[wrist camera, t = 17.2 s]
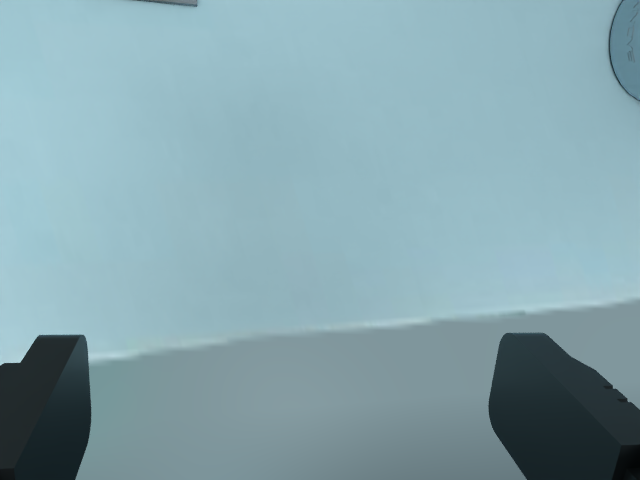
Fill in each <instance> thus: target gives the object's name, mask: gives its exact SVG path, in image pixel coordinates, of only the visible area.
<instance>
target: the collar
mask: <svg viewBox="0 0 640 480" xmlns="http://www.w3.org/2000/svg"><path fill="white" fill-rule="evenodd" d="M139 1H149V2H158V3H168V4H178V5H188V6H197V0H139Z"/></svg>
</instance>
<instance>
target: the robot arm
mask: <svg viewBox="0 0 640 480" xmlns="http://www.w3.org/2000/svg"><path fill="white" fill-rule="evenodd" d="M610 52H611V61H612V64H613V68H614V71H615V74H616V76H617V78H618V79H619V81H620V83H621V85H622V86H623V87H624V88H625V89H626V90H627V92H628V93H629V94H630V95H632V96H633V97H635V98H636V99H638V100H639V101H640V0H623V2H622V3H621V5H620V7H619V9H618V11H617V14H616V16H615V18H614V22H613V26H612V30H611V39H610ZM89 384H90V383H89V366H88V349H87V342H86V338H85V336H84V335H39V336H38V337H37V338H36V340H35V341H34V343H33V344H32V346H31V347H30V349H29V350H28V352H27V353H26V355H25V357H24V358H23V360H22V361H21V363H4V364H2V365H1V366H0V480H75V479H76V476H77V473H78V470H79V467H80V464H81V461H82V459H83V456H84V453H85V450H86V447H87V444H88V439H89V433H90V426H91V400H90V385H89ZM489 417H490V421H491V425H492V428H493V430H494V432H495V433H496V435H497V436H498V438H499V439H500V441H501V442H502V444H503V445H504V447H505V448H506V450H507V451H508V453H509V454H510V455H511V457H512V458H513V460H514V461H515V463H516V464H517V465H518V467H519V469H520V470H521V472H522V473H523V474H524V476H525V477H526V479H527V480H640V410H639V409H638V408H637V407H636V406H635V405H634V404H633V403H631V402H628V401H627V398H626V397H625V396H623V394H621V393H620V392H619V391H618V390H617V389H613V386H612V385H611V384H610V383H609V382H608V381H607V380H606V379H605V378H603V377H602V376H601V375H600V374H599V373H598V372H597V371H596V370H594V369H592V368H591V367H588V366H587V365H585V364H583V363H581V362H580V361H578V360H576V359H574V358H572V357H571V356H569V355H568V354H567V353H566V352H565V351H564V350H563V349H562V348H561V347H560V346H559V345H557V344H556V343H555V342H554V341H553V340H552V339H551V338H550V337H549V336H548V335H546V334H544V333H506V334H505V335H504V336H503V337H502V339H501V341H500V344H499V349H498V354H497V360H496V365H495V370H494V376H493V381H492V387H491V392H490V398H489Z"/></svg>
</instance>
